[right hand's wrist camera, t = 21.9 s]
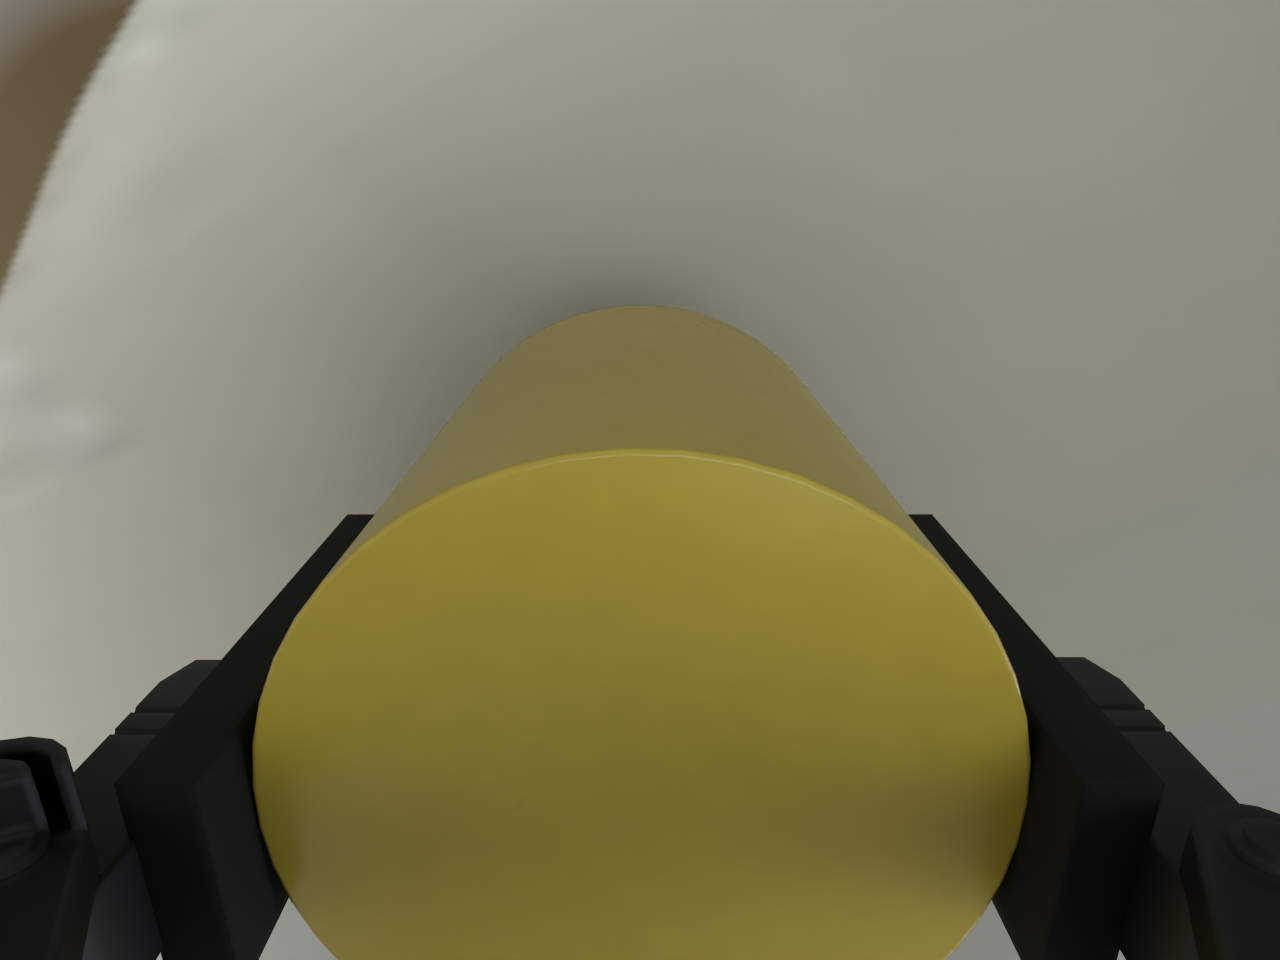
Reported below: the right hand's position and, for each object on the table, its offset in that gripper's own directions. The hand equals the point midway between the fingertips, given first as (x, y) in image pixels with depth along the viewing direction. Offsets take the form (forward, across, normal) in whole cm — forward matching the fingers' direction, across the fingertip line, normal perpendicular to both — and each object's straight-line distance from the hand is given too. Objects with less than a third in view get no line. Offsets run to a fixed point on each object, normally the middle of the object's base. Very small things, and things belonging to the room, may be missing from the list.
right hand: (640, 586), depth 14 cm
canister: (+3, 0, 0) cm, 3 cm away
